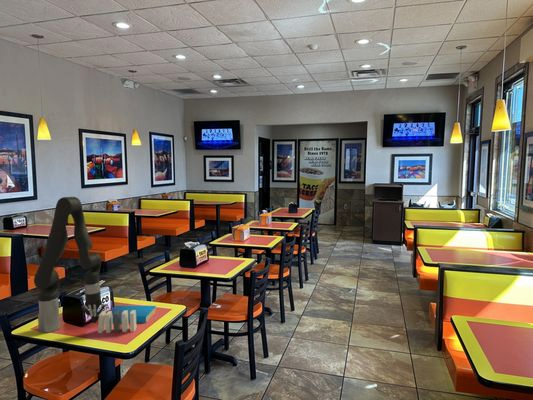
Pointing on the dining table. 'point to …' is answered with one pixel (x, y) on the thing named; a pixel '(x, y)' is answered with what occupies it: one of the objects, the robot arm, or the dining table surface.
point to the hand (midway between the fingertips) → (94, 322)
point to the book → (141, 312)
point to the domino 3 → (117, 321)
